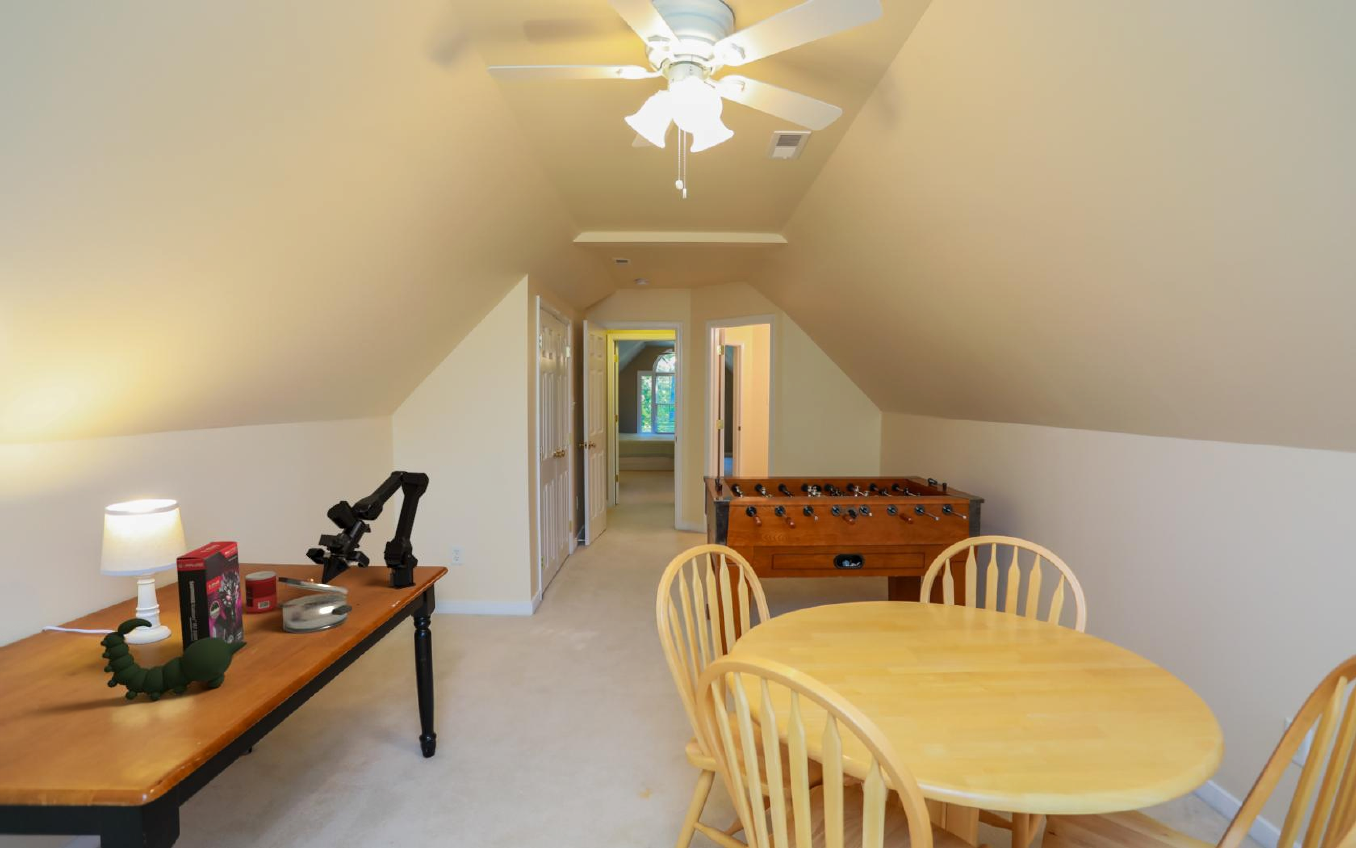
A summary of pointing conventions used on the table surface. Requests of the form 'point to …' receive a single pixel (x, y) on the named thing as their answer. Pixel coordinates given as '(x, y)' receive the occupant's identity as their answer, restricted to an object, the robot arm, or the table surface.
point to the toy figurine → (196, 664)
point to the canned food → (261, 592)
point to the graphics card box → (210, 593)
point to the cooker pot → (314, 613)
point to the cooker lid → (312, 585)
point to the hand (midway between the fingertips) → (323, 583)
